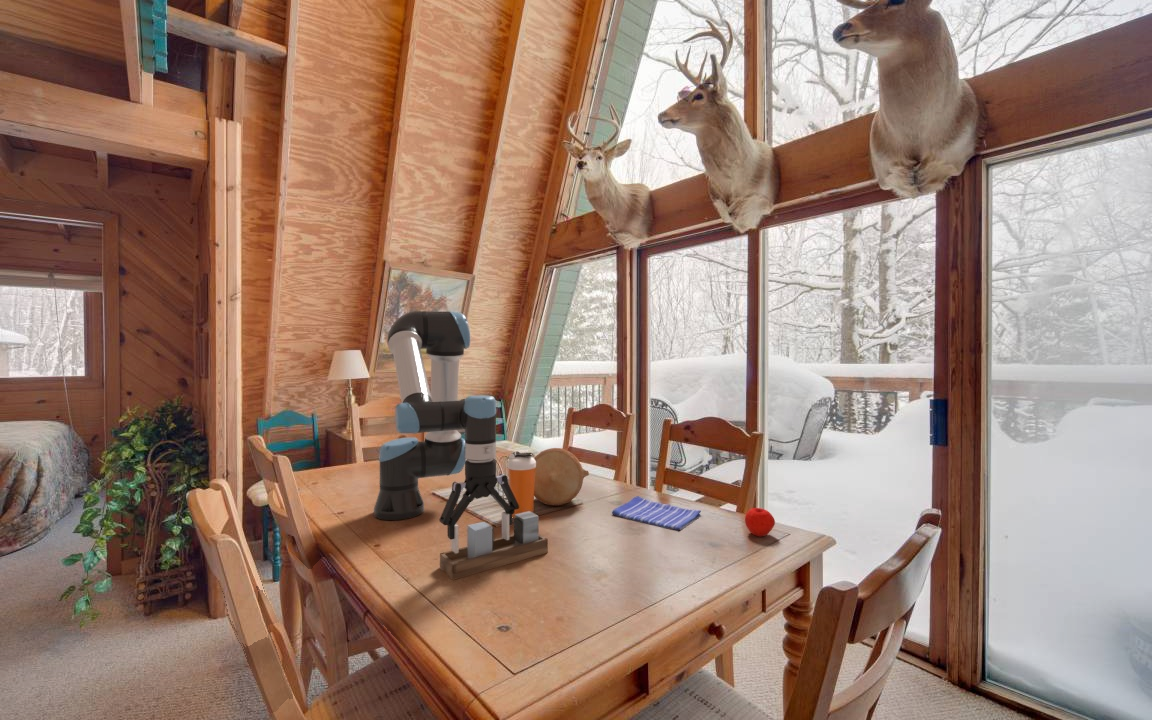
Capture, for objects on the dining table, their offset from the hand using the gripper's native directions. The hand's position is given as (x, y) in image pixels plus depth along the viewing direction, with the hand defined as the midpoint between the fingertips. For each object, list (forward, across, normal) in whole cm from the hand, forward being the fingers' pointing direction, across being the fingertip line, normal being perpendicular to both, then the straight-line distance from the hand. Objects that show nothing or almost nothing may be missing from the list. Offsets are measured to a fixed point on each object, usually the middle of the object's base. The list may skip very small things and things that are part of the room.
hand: (481, 544), depth 125 cm
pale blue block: (+3, 0, 0) cm, 3 cm away
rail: (+5, +4, 0) cm, 6 cm away
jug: (+5, +46, +33) cm, 57 cm away
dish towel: (+6, +60, 0) cm, 61 cm away
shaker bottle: (+5, +26, +24) cm, 35 cm away
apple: (+5, +72, -29) cm, 78 cm away
